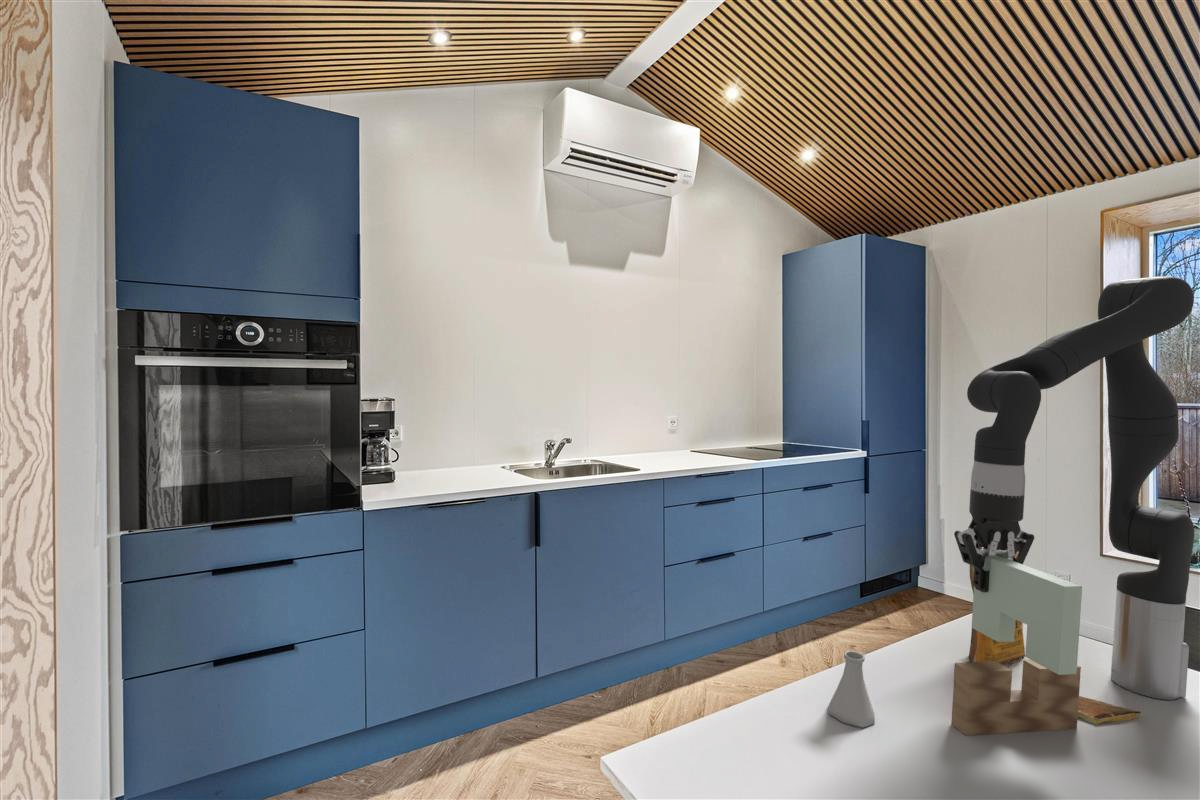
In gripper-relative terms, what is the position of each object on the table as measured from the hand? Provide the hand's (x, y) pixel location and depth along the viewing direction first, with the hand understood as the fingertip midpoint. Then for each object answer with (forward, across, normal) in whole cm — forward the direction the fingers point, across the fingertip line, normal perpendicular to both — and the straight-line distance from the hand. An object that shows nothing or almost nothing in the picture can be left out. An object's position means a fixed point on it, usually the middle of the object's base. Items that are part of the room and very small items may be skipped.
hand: (991, 590), depth 97 cm
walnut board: (+20, 0, -6) cm, 21 cm away
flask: (+20, -25, 0) cm, 32 cm away
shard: (+21, +18, -3) cm, 27 cm away
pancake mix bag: (+20, +18, +17) cm, 31 cm away
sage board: (+7, 0, -6) cm, 9 cm away
